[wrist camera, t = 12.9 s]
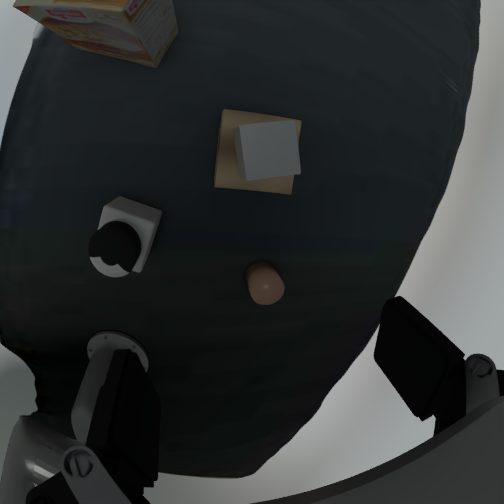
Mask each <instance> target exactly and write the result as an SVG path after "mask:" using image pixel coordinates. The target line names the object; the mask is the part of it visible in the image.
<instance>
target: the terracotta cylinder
mask: <svg viewBox="0 0 504 504" xmlns="http://www.w3.org/2000/svg"><path fill="white" fill-rule="evenodd" d="M246 281H247V284H248V287H249V290H250V293H251V296H252V298H253V300H254V301H255V302H257V303H258V304H261V305H270V304H273V303H275V302H277V301H278V300H279V299H280V298H281V297H282V295H283V293H284V284H283V282H282V280H281V278H280V276H279V275H278V273H277V271H276V270H275V268H274V266H273V265H272V264H270V263H269V262H265V261H259V262H256V263H254V264H252V265H251V266H250V267H249V268H248V270H247V272H246Z"/></svg>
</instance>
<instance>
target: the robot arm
mask: <svg viewBox="0 0 504 504" xmlns="http://www.w3.org/2000/svg"><path fill="white" fill-rule="evenodd" d="M87 353H88V356H89V359H90V362H89V365H88V367H87V370H86V372H85V375H84V378H83V381H82V383H81V386H80V389H79V392H78V395H77V398H76V401H75V404H74V407H73V410H72V414H71V421H72V427H73V430H74V433H75V435H76V438H77V440H78V441H77V440H75V439H74V440H73V439H71V438H69V437H67V436H65V435H63V434H61V433H59V432H57V431H56V430H54V429H52V428H50V427H48V426H46V425H45V424H43V423H41V422H39V421H37V420H35V419H33V418H29V417H23V418H21V419H20V420H19V421H18V422H17V423H16V425H15V426H14V428H13V431H12V433H11V437H10V440H9V444H8V448H7V452H6V456H5V461H4V466H3V471H2V477H1V482H0V504H150V503H149V501H148V500H147V499H146V498H145V497H144V496H143V494H144V487H154V481H157V479H158V452H159V429H160V412H161V403H160V399H159V397H158V395H157V393H156V391H155V389H154V387H153V385H152V383H151V381H150V379H149V377H148V375H147V373H146V372H147V370H148V366H149V358H148V355H147V353H146V351H145V349H144V348H143V347H142V346H141V344H140V343H139V342H137V341H136V340H135V339H133V338H132V337H130V336H128V335H126V334H123V333H120V332H117V331H102V332H99V333H97V334H95V335H94V336H93V337H92V338H91V339H90V341H89V343H88V346H87ZM464 356H465V354H464V353H463V352H462V351H461V350H460V349H459V348H458V347H457V346H456V345H455V344H454V343H453V342H451V341H450V340H449V339H448V338H447V337H446V336H445V335H444V334H443V333H442V332H441V331H440V330H439V329H438V328H437V327H435V326H434V325H433V324H432V323H431V322H430V321H429V320H428V319H427V318H426V317H424V316H423V315H422V314H421V313H420V312H419V311H418V310H417V309H415V308H414V307H413V306H412V305H411V304H410V303H409V302H407V301H406V300H405V299H404V298H403V297H401V296H397V297H394V298H391V299H388V300H387V301H386V304H384V306H383V309H382V315H381V321H380V326H379V331H378V336H377V341H376V346H375V350H374V359H375V362H376V363H377V364H378V366H379V367H380V368H381V370H382V371H383V373H384V374H385V375H386V376H387V378H388V379H389V381H390V382H391V384H392V385H393V386H394V388H395V389H396V390H397V392H398V393H399V394H400V396H401V397H402V399H403V400H404V402H405V403H406V404H407V406H408V407H409V409H410V410H411V412H412V413H413V414H414V416H416V417H419V418H420V419H421V421H424V420H426V419H428V418H429V417H431V416H432V415H434V416H435V418H436V421H435V429H434V435H433V437H432V438H430V439H429V440H427V441H425V442H424V443H422V444H420V445H418V446H417V447H415V448H413V449H411V450H409V451H408V452H406V453H404V454H402V455H400V456H398V457H396V458H394V459H392V460H390V461H388V462H386V463H383V464H381V465H379V466H377V467H375V468H372V469H370V470H367V471H365V472H363V473H360V474H358V475H355V476H353V477H350V478H348V479H345V480H342V481H339V482H336V483H333V484H330V485H327V486H324V487H321V488H317V489H315V490H311V491H307V492H303V493H300V494H296V495H292V496H288V497H283V498H279V499H274V500H269V501H263V502H257V503H252V504H504V370H497V369H496V367H495V364H494V362H493V361H492V360H491V359H490V358H489V357H487V356H486V355H483V354H473V355H470V356H469V357H468V358H467V359H466V361H465V360H464V359H463V357H464ZM33 483H35V484H37V485H38V486H36V487H35V486H34V484H33Z"/></svg>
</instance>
